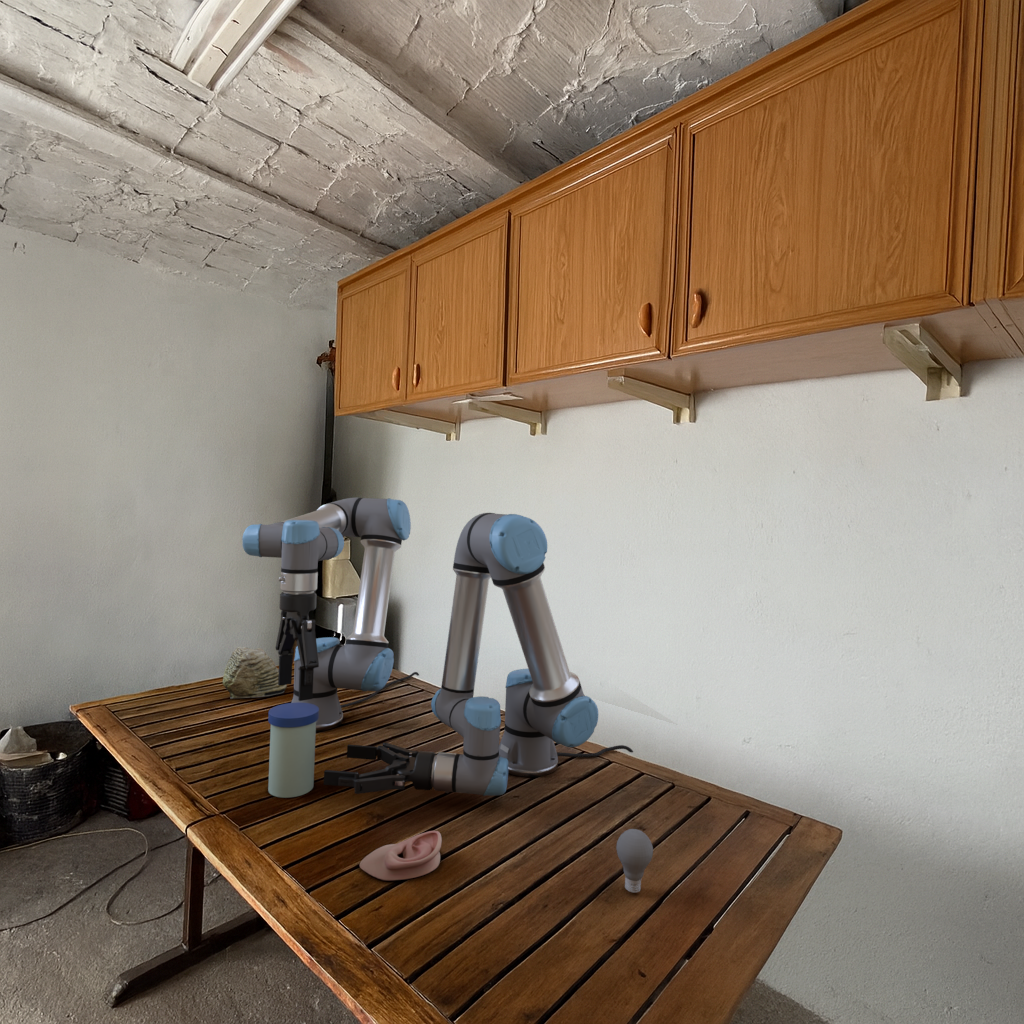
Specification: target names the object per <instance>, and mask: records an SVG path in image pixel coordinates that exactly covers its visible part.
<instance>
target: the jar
mask: <svg viewBox="0 0 1024 1024" xmlns="http://www.w3.org/2000/svg"><path fill="white" fill-rule="evenodd" d="M269 729H270V732H269V758H268V759H269V760H268V763H269V764H268V784H267V789H268V790H267V792H268V793H269V794H270V795H271V796H273V797H277V798H283V799H284V798H285V799H287V798H288V799H289V798H297V797H300V796H304V795H305V794H308V793H309V792H310V791H312V790H313V789H314V784H315V762H316V761H315V759H316V735H317V734H316V733H317V732H316V722H314V723H312V724H309V725H306V726H301V727H291V728H286V727H277V726H273V725H271V724H270V728H269Z"/></svg>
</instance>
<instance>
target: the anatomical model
mask: <svg viewBox="0 0 1024 1024" xmlns="http://www.w3.org/2000/svg"><path fill="white" fill-rule="evenodd" d="M442 843H443V838H442V834H441V833H440V831H438V830H429V831H426V832H422V833H418V834H416V835H414V836H411V837H410V838H407V839H404V840H403V841H400V842H397V843H390V844H386V845H382V846H380V847H378V848H375V850H373V851H371V852H370V853H369V854H367V855H366V856H364V857H363V859H362V860H361V861H360V863H359V868H360V869H361V870H362V871H363V872H365V873H367V874H368V875H370V876H372V877H374V878H376V879H378V880H381V881H389V882H390V881H401V880H409V879H413V878H418V877H421V876H424V875H427V874H430V873H431V872H433V871H435V870H436V869H437V868H438V867H439V866H440V863H441V862H440V861H441V853H440V851H441V848H442Z"/></svg>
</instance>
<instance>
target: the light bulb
mask: <svg viewBox="0 0 1024 1024" xmlns="http://www.w3.org/2000/svg"><path fill="white" fill-rule="evenodd" d="M615 849H616V854H617V857H618V859H619V861H620V863H621V865H622V867H623V873H624V874H623V875H624V876H625V878H624V888H625V890H627V891H628V892H630V893H634V894H635V893H639V892H640V891H641V889H642V887H641V886H642V879H643V877H644V875H645V871H646V868H647V867H648V866H649V864H650V863H651V861H652V859H653V855H654V847H653V843H652V841H651V838H649V836H648V835H647V834H646V833H645V832H643V831H642V830H641V829H636V828H629V829H627V830H625V831H623V832H622V833H621V834H620V835H619V837H618V839H617V841H616V847H615Z"/></svg>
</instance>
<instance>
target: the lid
mask: <svg viewBox="0 0 1024 1024" xmlns="http://www.w3.org/2000/svg"><path fill="white" fill-rule="evenodd" d="M267 715H268V717H267V719H268V720H267V722H268V723H269V724H270V726H271V725H273V726H277V727H286V728H291V727H301V726H306V725H309V724H312V723H314V722H316V721H317V720H318V718H319V708H318V706H316V705H314V704H310V703H291V702H286V703H282V704H278V705H276V706H273V707H271V708H270V709H269V710H268V714H267Z"/></svg>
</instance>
